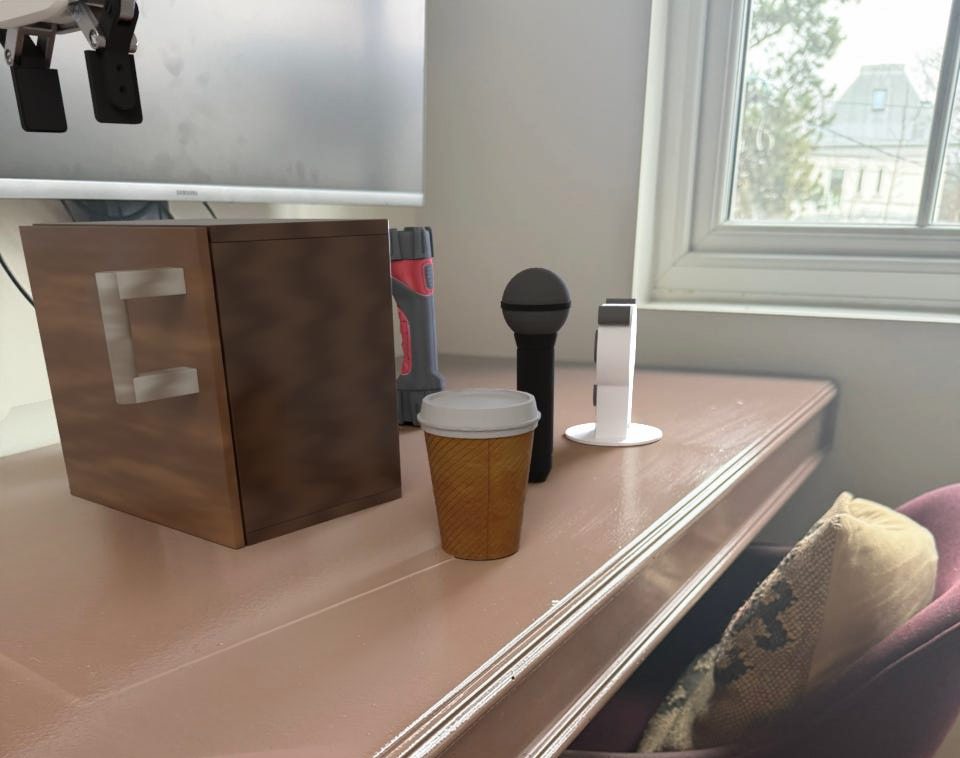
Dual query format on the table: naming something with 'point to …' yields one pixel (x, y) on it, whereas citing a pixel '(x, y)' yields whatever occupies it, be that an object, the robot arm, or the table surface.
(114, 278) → the cupboard door
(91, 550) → the table surface
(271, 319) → the cupboard
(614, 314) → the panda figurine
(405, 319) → the flashlight
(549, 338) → the microphone
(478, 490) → the disposable coffee cup
